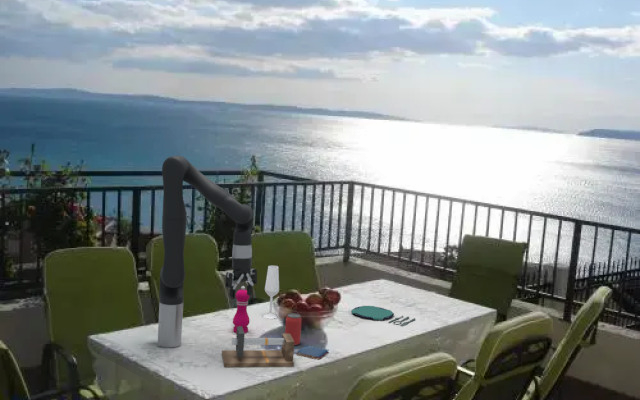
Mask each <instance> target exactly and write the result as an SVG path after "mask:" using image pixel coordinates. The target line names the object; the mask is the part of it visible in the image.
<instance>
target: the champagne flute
mask: <svg viewBox="0 0 640 400" xmlns="http://www.w3.org/2000/svg"><path fill="white" fill-rule="evenodd" d="M267 266H268V267H267V272H266V280H265V286H264V291H265V293H266V294H267V295H268V296H269V297H270V298H269V309H268V310H269V312H268V313H266V314H265V315H263V316H262V317H263V318H264V319H267V318H268V320H269V319H270V320H273V319H274V318H275V319H277V318H278V316H277V315H276V314H274V313H273V301H274V300H273V297H275V296H277V294H278V293H279V292H280V278H279V277H280V276H279V275H280V273H279V272H280V271H279V269H280V268H279V266H278V265H267Z"/></svg>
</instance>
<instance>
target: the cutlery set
mask: <svg viewBox="0 0 640 400" xmlns="http://www.w3.org/2000/svg"><path fill="white" fill-rule="evenodd" d="M350 312H351V315H354V314H355V315H356V316H358V317H361V318H364V319H371V320H372V319H373V320H374V321H381V320H386V319H390V318H391V317H393V316H394V315H395V313H394V312H393V311H392V310H390V309H387V308H384V307H378V306H374V305H361V306H357V307H354V308H353V309H351V311H350ZM401 318H403V319H401ZM399 319H401V320H399ZM407 319H410V316H406V317H404V315H402V316H399V317H395V318H394V319H391V320H389V321H388V324H390V323H392V322H393V324H394V325H396V324H397V323H398V324H399V326H400V327H405V326H408V324H410V323H412V322H413V321H416V318H415V317H413V318H412V319H411V320H409V321H405V320H407ZM403 321H404V322H403ZM402 322H403V323H402Z"/></svg>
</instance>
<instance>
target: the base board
mask: <svg viewBox="0 0 640 400" xmlns="http://www.w3.org/2000/svg"><path fill="white" fill-rule="evenodd" d="M281 338H284V339H285V345H281V349H280V350H279V349H276V350H274V349H273V350H272V349H270V350H269V349H268V350H267V349H265V350H261V349H260V350H258V349H257V350H249V349H248V350H245V349H244V352H243V357H238V356H237V352H236V349H235V350H221V357H222V360H223V361H222V363H223V367H224V368H273V367H274V368H284V367H286V368H287V367H289V368H290V367H294V366H295V362H294V354H295V353H294V351H295V345H294V340H293V338H292V336H291V334H285V333H282V336H281Z"/></svg>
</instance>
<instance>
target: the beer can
mask: <svg viewBox="0 0 640 400" xmlns="http://www.w3.org/2000/svg"><path fill="white" fill-rule="evenodd" d="M302 321H303V320H302V315H300V314H299V313H295V312H294V313H288V314H287V316H286V318H285V325H284V327H285V329H284V334H291V336H292V338H293V340H294V346H299V345H300V343H301V337H302V336H301V335H302V334H301V333H302Z"/></svg>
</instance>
